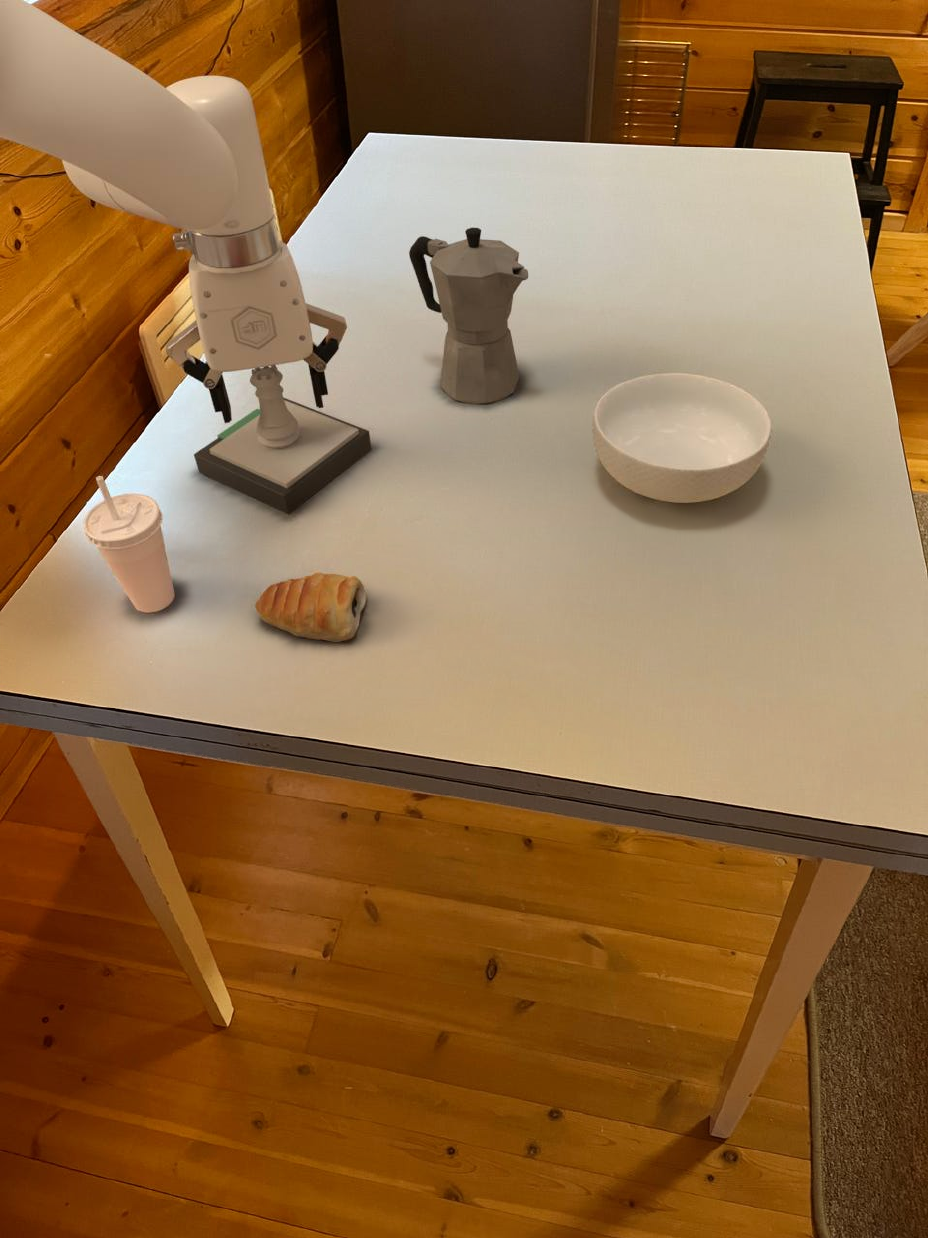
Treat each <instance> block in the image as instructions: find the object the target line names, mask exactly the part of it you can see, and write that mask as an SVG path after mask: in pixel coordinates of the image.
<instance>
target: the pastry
mask: <svg viewBox="0 0 928 1238" xmlns="http://www.w3.org/2000/svg"><path fill="white" fill-rule="evenodd" d="M366 601H367V591H366V588H365V585H364V584H363V582H362V580H361V579H360V578H358V577H357V576H355V575H352V576H346V575H341V574H338V573H337V574H336V573H329V574H327V573H323V572H315V573H313V574H310V575H306V576H304V577H300V578H290V579H287V580H283V581H280V582H278V583H275V584H271V585H269V586H268V587H267V588H265V589H264V591H263V592H262V593H261V595H260V597H259V598H258V600H257V601H256V602H255V604H254V608H255V610H256V612H257V614H258V615H259V617H260V618H261V620H262V622H265V623H267V624H269V625H270V626H272V627H275V628H278V629H279V630H281V631H286V632H289V633H291V635H293V636H295V637H298V638H302V637H303V638H306V639H309V640H310V639H312V640H316V641H319V640H325V641H327V642H334V643H337V642H342V641H348V640H350V639H352V638H354V636H355V635H356V633H357V631H358V628H359V626H360V620H361V612H362V611H363V609H364V607H365V605H366Z"/></svg>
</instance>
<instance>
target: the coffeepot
mask: <svg viewBox="0 0 928 1238" xmlns="http://www.w3.org/2000/svg"><path fill="white" fill-rule="evenodd" d="M464 233H465V236H466V238H465V239H462V240H457V241H456V242H452V243H448V242H447V241H446V240H442V239H439V238H434V239H433V238H430V237H427V236H424V235H422V236H419V237H417V239H416V240H415V241H414V243H413V244H412V245H411V246H410V248H409V252H408V255H409V259H410V262H411V265H412V267H413V270H414V273H415V276H416V279H417V282H418V285H419V288H420V291H421V294H422V296H423V299H424V302H425V305H426V307H427V309H428V310H431V311H433V312H436V313H438V314H441V317H442V320H444V321H445V322H446V324H447V331H446V334H445V338H444V343H443V344H444V345H443V355H442V362H441V363H442V364H441V373H440V384H439V387H440V388H441V389H442V390H443V391H444V392H445V394H446V395H447V396H448V397H450V398H452V399H453V400H455V401H457V402H461V403H464V404H469V405H470V404H472V405H484V404H485V405H486V404H492V403H495V402H498V401H500V400H501V401H502V400H503V399H506V398H507V397H509V396H510V395H512V394H513V393H514V392H515V390H516V388H517V384H518V381H519V378H520V372H519V367H518V362H517V357H516V352H515V347H514V342H513V338H512V332H511V329H510V328H509V318H510V316H511V313H512V307H513V301H514V295H515V293H516V291H517V290H518V288H519V286H520V285H521V283H522V282H523V281H526V280H528V278H529V271H528V269H526V267H525V266H524V265H523V264H521V263H519V257H520V252H519V251H518V250H516V249H514V248H513V247H511V246H510V245H508V244H507V243H505V242H503V240H498V239H497V240H495V239H481V234H482V229H481V228H479V227H469V228H466V230H465V232H464ZM425 256H427V257H429V258H431V260H430V261H429V265H430V268H431V273H432V277H433V281H434V286H433V282H432V281H431V278H430V275H429V270H428V266H427V261H426V258H425ZM434 287H435V291H436V294H437V299H438V302H437V301H436V299H435V295H434Z"/></svg>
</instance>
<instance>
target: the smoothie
mask: <svg viewBox="0 0 928 1238" xmlns="http://www.w3.org/2000/svg"><path fill="white" fill-rule="evenodd" d="M95 480H96V483H97V485H98V488H99V490H100V492H101V495H102V497H103V500H102V501H100V502H99V503H97V504H96V505H94V506H93V507H92V508H91V509H90V510H89V511H88V512H87V513H86V515H85V516H84V519H83V523H82V526H83V527H82V528H83V530H84V533H85V536H86V539H87V540H88V542H89V543H90V544H91V545H92V546H95V547H96V548H97V550H98V552H99V554H101V556H102V557H103V559H104V560H105V562H106V564H107V565H108V567H109V568H110V571H112V573H113V575H114V577H115V578H116V579H117V582H118V583H119V585H120V586H121V587H122V589H123V591H124V592H125V594H126V595H127V597H128V598H129V600H130V602H131V603H132V605H133V606H134V608H135V609H136V610H137V611H139V612H142V613H147V614H149V613H150V614H151V613H156V612H160V611H162V610H164V609H166V608H167V607H168V606H169V605H171V603H173V601H174V599H175V595H176V594H175V589H174V585H173V580H172V575H171V570H170V565H169V560H168V554H167V550H166V544H165V540H164V533H163V529H162V523H163V512H162V510H161V509H160V506H159V504H158V503H157V501H156V500H155V499H154V498H152V497H150V496H149V495H145V494H141V493H124V494H123V493H122V494H118V495H115V496H112V495H111V494H110V491H109V489H108V486H107V483H106V481H105V478H104V477H103V476H102V475H98V476H96V477H95Z"/></svg>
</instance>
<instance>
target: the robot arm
mask: <svg viewBox="0 0 928 1238" xmlns="http://www.w3.org/2000/svg"><path fill="white" fill-rule="evenodd" d="M252 99H253V98H252V96H251V94H250V91H249V90H248V88H247V87H246V86H245V85H244V84H243V83H242V82H241V81H239V80H237V79H235V78H233V77H228V76H222V75H201V76H193V77H190V78H185V79H181V80H178V81H176V82H174V83H172V84H171V85H168V86H167V87H164V85H162V84H160V83H159V82H158V81H157V80H155V79H154V78H153V77H151V76H149V75H148V74H147V73H145V72H143V71H142V70H140V69H139V68H137V67H135V66H134V65H133V64H131V63H129V62H128V61H126V60H124V59H123V58H122V57H119V56H118V55H116V54H114V53H113V52H111V51H110V50H108V49H106V48H105V47H103V46H101V45H99V44H98V43H96V42H94V41H93V40H91V39H89V38H87V37H85V36H83V35H82V34H80V33H78V32H77V31H76V30H74V29H71V28H70V27H69V26H67V25H65V24H64V23H62V22H61V21H59V20H58V19H56V18H55V17H53V16H51V15H50V14H48V13H46V12H45V11H43V10H42V9H40V8H38V7H36V6H35V5H33V4H31V3H29V2H28V1H26V0H0V138H1V139H4V140H7V141H10V142H13V143H16V144H19V145H22V146H25V147H28V148H31V149H34V150H37V151H39V152H42V153H44V154H48V155H50V156H52V157H55V158H57V159H59V160H61V162H62V165H63V166H62V167H63V168H64V171H65V173H66V174H67V176H68V177H67V178H69V180H70V181H71V183H72V184H73V186H74V187H76V188H77V190H78V191H79V192H80V193H82V194H83V195H84V196H86V197H87V198H89V199H90V200H92V201H94V202H95V203H97V204H100V205H103V206H105V207H107V208H111V209H114V210H117V211H120V212H124V213H127V214H130V215H134V216H137V217H142V218H145V219H147V220H151V221H154V222H158V223H161V224H163V225H166V226H170V227H172V228H176V229H179V230H181V231H180V232H177V233H172V240H173V243H174V244H173V245H174V247H175V250H176V251H178V250H185V251H189V252H190V254H192V255H191V257H190V259H189V263H188V277H189V278H188V279H189V287H190V294H191V301H192V306H193V311H194V316H195V320H194V321H193V322H192V323H191V324H189V325H188V326H187V327H185V328H184V329H183V330H181V332H179V333H178V334H176V335H175V336H174V337H173V338H172V339H170V340H169V341H168V342H167V343H166V348H165V349H166V355H167V356H168V357H169V358H170V359H171V360H172V361H173V362H175V363H176V364H177V366H179V367H181V368H182V369H183V372H184V373H185V374H186V375H188V376H189V377H191V378H193V379H195V380H196V381H198V382H200V383H202V384H203V386H204V388H206V389H208V392H209V395H210V398H211V402H212V405H213V409H214V412H215V413H221V415H222V418H223V422H224V424H228V423H229V424H230V423H231V422H232V421H233V418H232V405H231V402H230V399H229V394H228V391H227V386H226V383H225V379H224V375H223V373H231V372H238V371H246V370H252V369H255V368H263V367H266V366H269V367H271V366H273V365H276V366H279V365H284V364H291V363H296V362H301V361H302V360H303V361H304V362H305V363H306V364H307V365H308V370H309V376H310V381H311V386H312V393H313V397H314V402H315V408H318V409H323V408H324V403H323V396H329V390H328V385H327V379H326V374H325V371H326V370H327V364H328V363H329V362H330V361H331V359H333V357H334V356H335V355H336V353H337V352H338V350H340V349H339V348H340V344H341V342H342V340H343V338H344V335H345V334H346V331H347V330H348V329H347V328H348V325H347V321H346V318H345V317H344V316H342V315H339V314H337V313H334V312H331V311H329V310H327V309H326V310H325V309H322V308H321V307H317V306H315V305H311V304H309V303H306V300H305V295H304V290H303V286H302V283H301V280H300V275H299V273H298V269H297V265H296V263H295V261H294V258H293V256H292V253H291V251H290V249H289V247H288V245H287V244H286V243H285V242H284V241H282V240H280V237H279V236H280V235H279V231H278V227H277V222H276V216H275V210H274V205H273V200H272V195H271V190H270V184H269V179H268V173H267V168H266V164H265V158H264V153H263V147H262V143H261V138H260V132H259V127H258V123H257V118H256V112H255V107H254V103H253V100H252ZM311 324H312V325H315V326H318V327H320V328H323V329H326V330H328V331H327V332H328V333H327V334H326V335H325V337H324V338H323V339H322V340H321V341H320V343H319V344H317V343H316V342H315V341H314V340H313V334H312V327H311ZM199 341H200V343H201V347H202V350H203V354H204V358H205V362H204V361H203V360H201V359H198V358H197V357H195V356H194V355H192V354H190V352H189V351H188V350H189V349H190V348H192V347H193V346H194V345H195V344H197V343H198V342H199Z"/></svg>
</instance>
